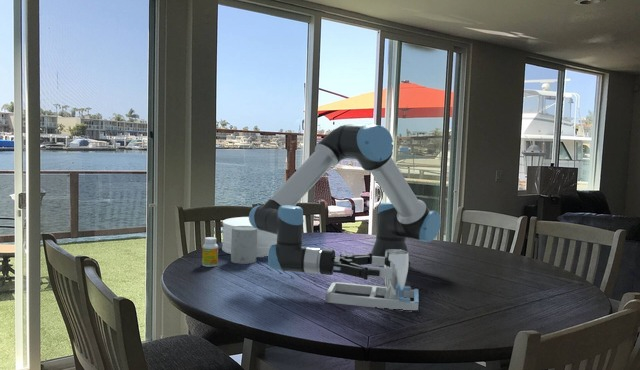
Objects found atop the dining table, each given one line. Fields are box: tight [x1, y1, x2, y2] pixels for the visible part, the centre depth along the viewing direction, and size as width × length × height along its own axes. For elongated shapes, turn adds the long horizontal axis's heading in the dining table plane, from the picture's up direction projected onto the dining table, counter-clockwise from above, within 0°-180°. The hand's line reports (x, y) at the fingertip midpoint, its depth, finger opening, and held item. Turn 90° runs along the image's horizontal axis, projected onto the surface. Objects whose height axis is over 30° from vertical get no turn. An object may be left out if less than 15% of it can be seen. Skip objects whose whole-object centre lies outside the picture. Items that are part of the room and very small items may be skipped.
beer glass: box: [383, 249, 409, 300], centre depth 148 cm, size 7×7×15 cm
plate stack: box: [221, 216, 277, 258], centre depth 210 cm, size 28×28×12 cm
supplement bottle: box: [201, 236, 219, 268], centre depth 180 cm, size 5×5×10 cm
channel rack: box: [324, 281, 419, 311], centre depth 149 cm, size 26×13×2 cm, turn 79°
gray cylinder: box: [230, 226, 257, 265], centre depth 189 cm, size 10×10×12 cm
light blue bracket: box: [399, 285, 420, 305], centre depth 147 cm, size 5×13×3 cm, turn 169°
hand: (393, 267), depth 147 cm, fingers open, 13 cm apart
